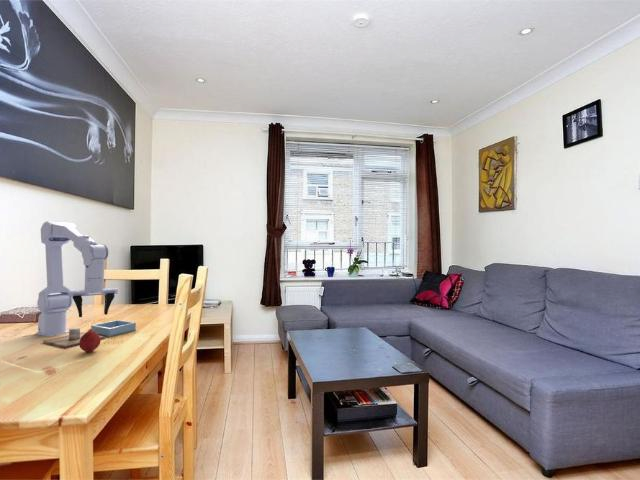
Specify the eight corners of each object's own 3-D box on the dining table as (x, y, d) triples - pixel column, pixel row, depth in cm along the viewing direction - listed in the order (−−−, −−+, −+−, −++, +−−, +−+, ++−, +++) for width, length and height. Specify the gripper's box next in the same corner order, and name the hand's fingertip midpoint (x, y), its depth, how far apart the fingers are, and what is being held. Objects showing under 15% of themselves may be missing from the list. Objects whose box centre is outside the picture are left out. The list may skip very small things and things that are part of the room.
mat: (40, 344, 119) (40, 343, 119) (82, 334, 131) (82, 333, 131) (64, 350, 113) (64, 349, 113) (105, 339, 126) (105, 338, 126)
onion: (89, 356, 107) (89, 331, 107) (74, 355, 108) (75, 330, 108) (104, 350, 113) (105, 327, 113) (90, 349, 114) (90, 326, 114)
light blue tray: (91, 334, 132) (91, 325, 132) (117, 328, 142) (117, 319, 142) (109, 337, 128) (109, 328, 128) (135, 331, 138) (135, 322, 138)
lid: (43, 343, 119) (43, 330, 119) (82, 334, 131) (82, 323, 131) (65, 348, 114) (65, 335, 114) (103, 338, 125) (104, 327, 125)
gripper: (70, 280, 114) (69, 320, 114) (119, 277, 123) (118, 314, 123) (68, 278, 119) (67, 316, 119) (115, 276, 129) (114, 311, 128)
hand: (93, 315), depth 121 cm, fingers open, 7 cm apart
